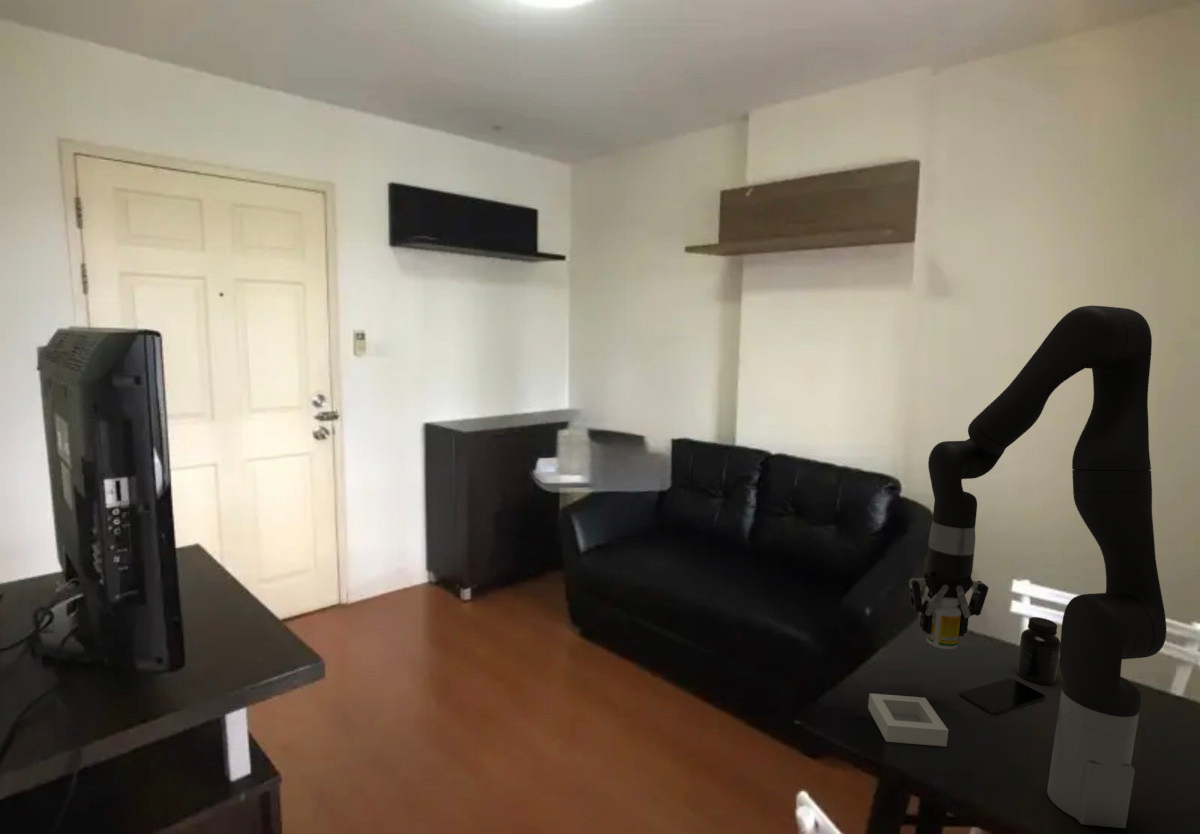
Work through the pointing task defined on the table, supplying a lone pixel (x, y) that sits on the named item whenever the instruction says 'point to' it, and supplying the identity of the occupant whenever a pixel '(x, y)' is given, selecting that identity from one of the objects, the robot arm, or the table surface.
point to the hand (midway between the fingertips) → (942, 633)
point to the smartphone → (1002, 696)
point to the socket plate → (907, 720)
